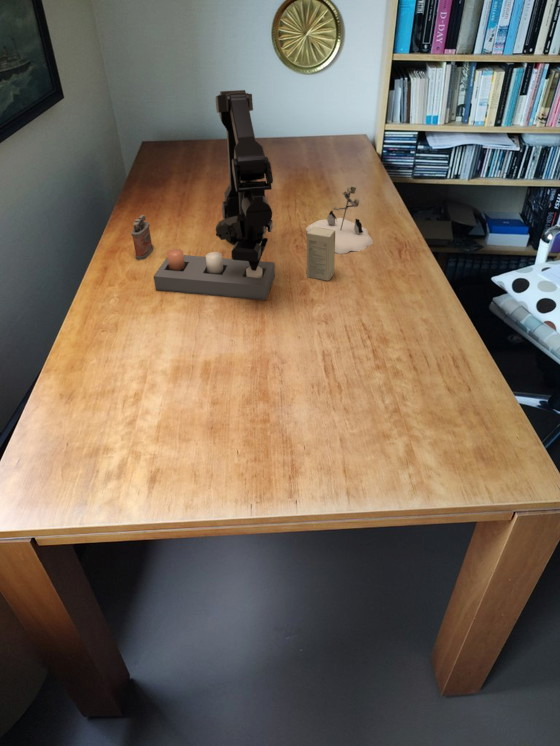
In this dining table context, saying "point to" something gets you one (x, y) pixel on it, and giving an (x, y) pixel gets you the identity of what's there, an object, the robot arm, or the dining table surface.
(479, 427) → the dining table surface
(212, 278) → the button panel
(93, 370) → the dining table surface
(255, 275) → the button
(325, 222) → the figurine
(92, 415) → the dining table surface
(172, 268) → the terracotta button
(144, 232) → the lighter
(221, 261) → the button
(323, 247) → the skincare box
